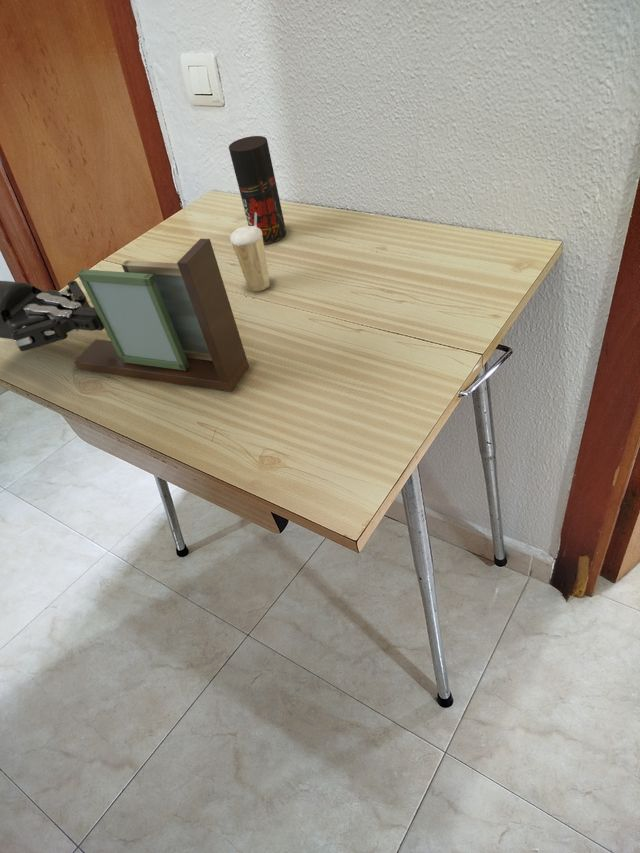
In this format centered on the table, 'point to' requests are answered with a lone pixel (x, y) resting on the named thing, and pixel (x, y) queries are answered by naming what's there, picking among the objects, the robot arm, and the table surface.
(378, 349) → the table surface
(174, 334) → the panel
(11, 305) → the robot arm
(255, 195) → the deodorant
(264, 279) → the milkshake
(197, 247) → the window frame
